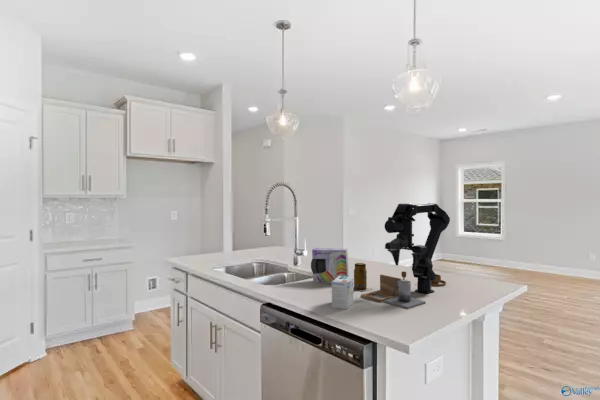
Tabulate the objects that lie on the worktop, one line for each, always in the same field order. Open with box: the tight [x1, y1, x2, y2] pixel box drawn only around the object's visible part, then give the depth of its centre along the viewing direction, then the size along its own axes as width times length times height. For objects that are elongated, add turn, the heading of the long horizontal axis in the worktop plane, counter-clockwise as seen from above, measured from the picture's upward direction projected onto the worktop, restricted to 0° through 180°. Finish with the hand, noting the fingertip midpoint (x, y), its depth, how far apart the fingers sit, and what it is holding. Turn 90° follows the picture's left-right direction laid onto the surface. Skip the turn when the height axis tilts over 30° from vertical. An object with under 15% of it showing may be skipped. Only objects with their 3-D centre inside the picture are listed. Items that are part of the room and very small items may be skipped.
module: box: [398, 278, 412, 303], centre depth 152 cm, size 5×5×9 cm
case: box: [360, 274, 401, 303], centre depth 161 cm, size 14×11×8 cm
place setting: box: [401, 271, 447, 287], centre depth 187 cm, size 18×20×6 cm
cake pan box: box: [310, 247, 350, 284], centre depth 188 cm, size 19×5×18 cm, turn 71°
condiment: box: [353, 262, 373, 292], centre depth 175 cm, size 7×8×12 cm
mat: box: [383, 296, 426, 310], centre depth 152 cm, size 12×12×1 cm
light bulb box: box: [331, 276, 354, 310], centre depth 149 cm, size 11×7×11 cm, turn 159°
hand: (405, 266), depth 162 cm, fingers open, 9 cm apart
